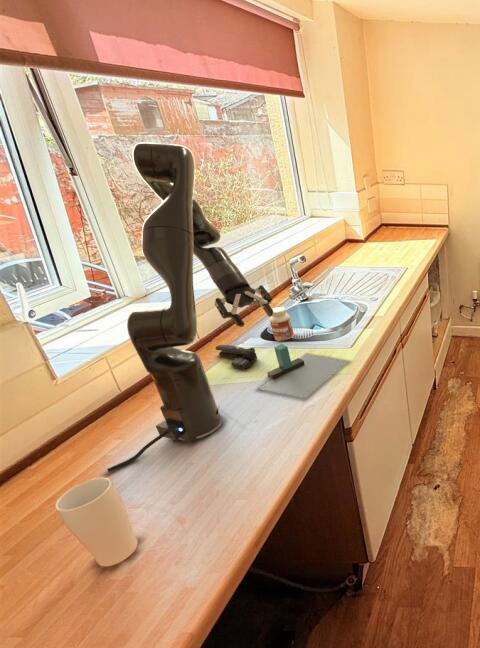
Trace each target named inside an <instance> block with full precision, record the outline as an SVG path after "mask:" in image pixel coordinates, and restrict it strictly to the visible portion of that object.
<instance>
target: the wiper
mask: <svg viewBox="0 0 480 648" xmlns="http://www.w3.org/2000/svg"><path fill="white" fill-rule="evenodd" d="M273 348H274V352H275V355H276V359H277V363H278V366H277V367H275V368H274V369H271V370H269V371H268V372H266V374H267V377H268V378H269V379H270V380H271V379H273V380H274V379H276V378H278V377H280V376H282V375H284V374H286V373H289V372H291V371H293V370H295V369H297V368H299V367H301V366H303V365H305V364H304V361H303V360H301V359H300V357H298V358H295V359H293V360H291V356H290V352H289V347H288V346H287V345H285V344H283V343H281V344H278V345H276V346H274V347H273Z"/></svg>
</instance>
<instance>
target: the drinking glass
mask: <svg viewBox="0 0 480 648" xmlns="http://www.w3.org/2000/svg"><path fill="white" fill-rule="evenodd" d="M54 508H55V510H56V512H57V514H58V516H59V518H60V520H61V521H62V523H63V524H64V525H65V527H66V528H67V529H68V530H69V531H70V533H71V534H72V535H73V536H74V537H75V538H76V539H77V540H78V542H79V543H80V544H81V545H82V546H83V548H85V550H87V551H88V553H89V554H90V556H92V557H93V558H94V560H95V561H96V563H97V564H98V565H99V566H101V567H104V568H105V567H106V568H107V567H112V566H115V565H118V564H120V563H122V562H124V561H125V560H127V559H128V558H129V557H130V556H131V555H133V553H134V552H135V551H136V549H137V547H138V543H139V541H138V538H137V536H136V534H135V531H134V530H133V527H132V524H131V522H130V519H129V516H128V513H127V510H126V508H125V505H124V503H123V500H122V497H121V494H120V493H119V491H118V489H117V488H116V486H115V485H114V483H113V482H112V480H111V479H110V478H108V477H95V478H90V479H88V480H84V481H82V482H79V483H78V484H76V485H74V486H72V487H71V488H69V489H67V490H66V491H65V492H64V493H62V494H61V495H60V497H58V499H57V500H56V502H55V505H54Z"/></svg>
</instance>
